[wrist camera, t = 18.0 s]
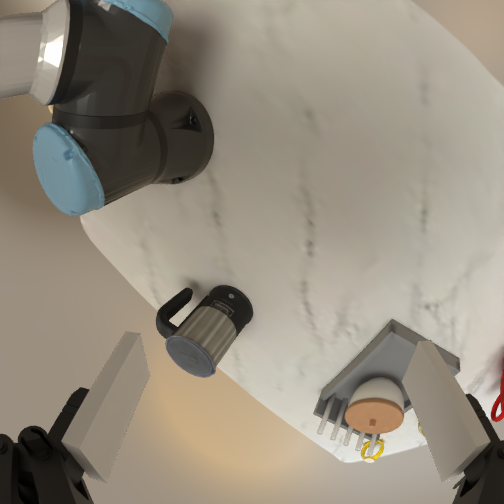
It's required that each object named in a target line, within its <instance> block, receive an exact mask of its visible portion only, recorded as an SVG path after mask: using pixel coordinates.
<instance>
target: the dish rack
mask: <svg viewBox="0 0 504 504" xmlns="http://www.w3.org/2000/svg"><path fill="white" fill-rule="evenodd" d="M418 341H427V339H425V338H424V337H422V336H420V335H419V334H417V333H415V332H414V331H412V330H410V329H408V328H407V327H405V326H403V325H402V324H400V323H398V322H396V321H395V320H393V319H392V320H391V321H390V322H389V323H388V324H387V326H386V327H385V328H384V329H383V330H382V331H381V332H380V333H379V334H378V335H377V336H376V338H375V339H374V340H373V341H372V342H371V343H370V344H369V345H368V346H367V347H366V348H365V349H364V350H363V351H362V352H361V353H360V354H359V355H358V356H357V357H356V358H355V359H354V360H353V361H352V362H351V363H350V364H349V365H348V366H347V367H346V368H345V369H344V370H343V371H342V372H341V373H340V374H339V375H338V376H337V377H336V378H335V379H333V380H332V381H331V382H330V383H329V384H328V385H327V386H326V387H325V388H324V389H323V390H322V392H321V395H320V397H319V400H318V403H317V405H316V408H315V410H314V413H313V414H314V415H316V416H318V417H320V418H322V421H321V423H320V426H319V429H318V431H317V433H318V434H322V433H323V430H324V427H325V425H326V422H327V421H329V422H331V423H333V424H335V426H334V429H333V432H332V435H331V438H330V439H331V440H335V439H336V436H337V433H338V430H339V427H342V428H344V429H346V430H347V434H346V437H345V440H344V443H343V445H345V446H348V444H349V441H350V437H351V434H352V432H353V433H355V434H357V435H359V439H358V442H357V446H356V449H355V450H357V451H360V450H361V446H362V443H363V439H364V438H366V439H369V440H371V442H370V446H369V450H368V454H367V455H372V454H373V450H374V446H375V442H377V441H379V437H380V434H369V433H364V432H360V431H358V430H355V429H354V428H352V427H351V426H349V425H348V423H347V422H346V420H345V412H346V409H347V407H348V404H349V401H350V399H351V397H352V395H353V393H354V392H355V391H356V389H357V388H358V387H359V386H360V385H362V384H363V383H365V382H367V381H368V380H370V379H372V378H376V377H384V378H388V379H390V380H392V381H393V382H394V383H395V384H396V385H397V386H398V387H399V388H400V390H401V392H402V394H403V398H404V413H405V412H407V411H408V410H410V409H411V408H413V406H412V404H411V401H410V399H409V397H408V395H407V392H406V390H405V388H404V386H403V383H402V380H403V377H404V375H405V373H406V371H407V368H408V366H409V364H410V361H411V359H412V356H413V354H414V351H415V349H416V346H417V344H418ZM433 344H434V343H433ZM434 346H435V347H436V349H437V350H438V352H439V353H440V355H441V356H442V358H443V360H444V361H445V363H446V364H447V366H448V367H449V369H450V371H451V372H452V374H453V375H454V376H455V375H456V374H458V373H459V372H460V361H459V358H457V357H456V356H454V355H452V354H451V353H449V352H447V351H446V350H444V349H442V348H441V347H439V346H437V345H436V344H434Z"/></svg>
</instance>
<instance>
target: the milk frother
mask: <svg viewBox="0 0 504 504" xmlns="http://www.w3.org/2000/svg"><path fill="white" fill-rule="evenodd" d="M192 294H193V291H192V289H190V288H185V289H183V290H182V291H181V292H179V293H178V294H177V295H176V296H174V297H173V298H172V299H171V300H169V301H168V302H167V303H166V304H164V305H163V306H162V307H161V308H160V309H159V310H158V312H157V317H156V326H157V330H158V331H159V333H160V334H161V335H162V336H163V337H164V338H166V339H167V340H166V349H167V351H168V354H169V355H170V357H171V358H172V359H173V361H174V362H175V363H176V364H177V365H178V366H180V367H181V368H182V369H183V370H185V371H187V372H188V373H190V374H192V375H194V376H198V377H210V376H211V375H213V374H215V368H216V366H217V364H218V363H219V362H220V360H221V359H222V357H223V356H224V354H225V353H226V352H227V350H228V349H229V347H230V346H231V344H232V343H233V341H234V340H235V339H236V337H237V336H238V334H239V333H240V332H241V330H242V329H243V328H244V327H245V325H246V324H247V323H249V322H250V321H251V319H252V316H253V310H252V306H251V304H250V302H249V300H248V299H247V298H246V296H244V294H242V293H241V292H240V291H238V290H236V289H235V288H232V287H229V286H218V287H216V288H214V289H213V290H212V291H211V292H210V295H209V296H208V295H207V296H206V297H205V298H204V299H203V300H202V301H201V302H200V303H199V305H198V306H197V307H196V308H195V309H194V310H193V311H192V312H191V313H190V314H189V315H188V316H187V317H186V319H185V320H184V321H183V322H182V323H181V324H180V325H179V326H178V327H177V326H175V325H174V324H172V323H171V322H170V321H169V320H170V318H172V317H173V316H174V315H175V314H176V313H177V312H178V311H179V310H181V309H182V308H183V307H184V306H185V305H186V304H187V303H188V302H189V301H190V300H191V298H192Z"/></svg>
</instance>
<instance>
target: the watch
mask: <svg viewBox="0 0 504 504" xmlns="http://www.w3.org/2000/svg"><path fill="white" fill-rule="evenodd" d="M370 442H371V441H369V442H367V443H366V444H365V445H364V447H363V448H362V450H361V456H362V458H363V459H364V461H365V462H369V463H373V462H374V461H375V459H377V458H378V457H379V456H380V455H381V454H382V453H383V450H384V444H383V443H382V442H381V441H380V440H379V441H377V442H375V443H380V445H381V447H380V450H379V451H378V453H377V454H376V455H374V456H373V457H371V456H367V457H365V456H364V454H365V451H366V449H367V448H368V447H369V446H370Z"/></svg>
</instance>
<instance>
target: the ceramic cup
mask: <svg viewBox="0 0 504 504" xmlns="http://www.w3.org/2000/svg"><path fill="white" fill-rule="evenodd" d="M500 402H501V411H502V412H501V414H500V415H499V416H498V417H497V418H496V411H497V408H498V406H499V404H500ZM503 418H504V370H503V374H502V378H501V387H500V395H499V396H498V398H497V399H496V401H495V403H494V405H493V407H492V411H491V419H492V420H493V421H495V422H498V421H500V420H502V419H503Z"/></svg>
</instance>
